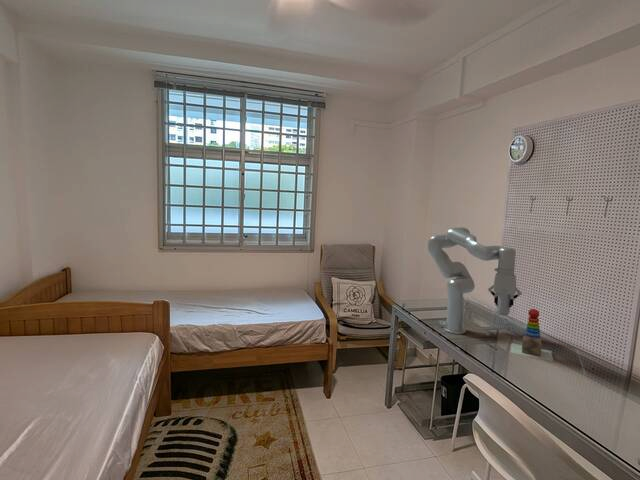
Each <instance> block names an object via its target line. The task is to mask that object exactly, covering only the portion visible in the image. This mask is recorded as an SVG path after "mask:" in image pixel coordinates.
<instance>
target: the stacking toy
mask: <svg viewBox="0 0 640 480" xmlns="http://www.w3.org/2000/svg"><path fill="white" fill-rule="evenodd" d="M528 315H529V317H528V318H527V323H526V328H525V329H526V330H525V334H524V336H525V337H531V338H536V339H541V338H542V337H541V330H540V327H541V326H540V322H539V321H540V318H539V317H540V311H539V310H538V309H535V308H530V309H529V310H528ZM541 340H542V339H541Z"/></svg>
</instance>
